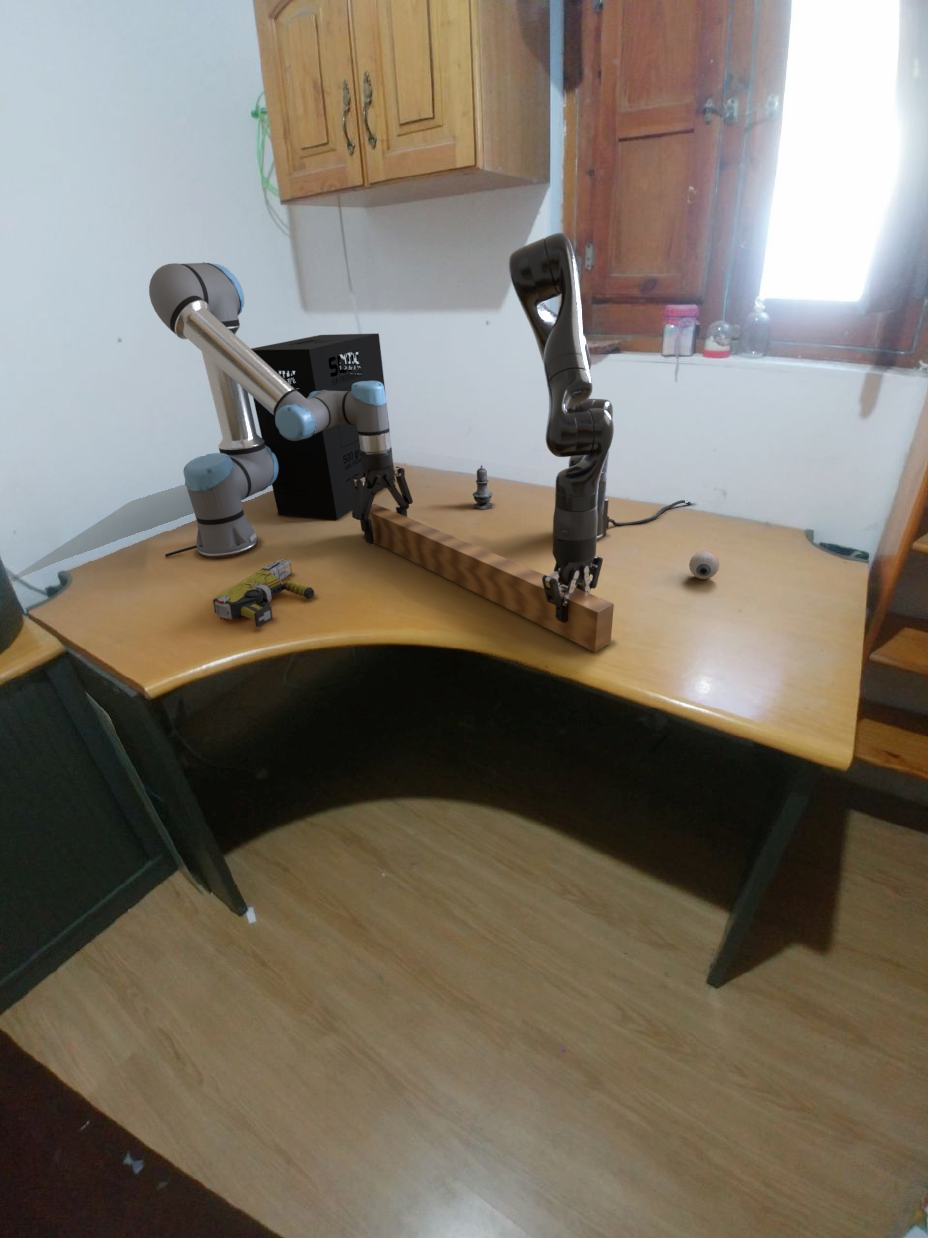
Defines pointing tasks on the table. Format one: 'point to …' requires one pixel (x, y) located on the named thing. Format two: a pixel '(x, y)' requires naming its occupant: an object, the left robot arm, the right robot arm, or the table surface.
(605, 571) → the table surface
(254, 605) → the toy gun
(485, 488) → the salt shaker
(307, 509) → the cardboard box
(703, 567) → the eyeball
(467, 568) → the bar
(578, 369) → the right robot arm
